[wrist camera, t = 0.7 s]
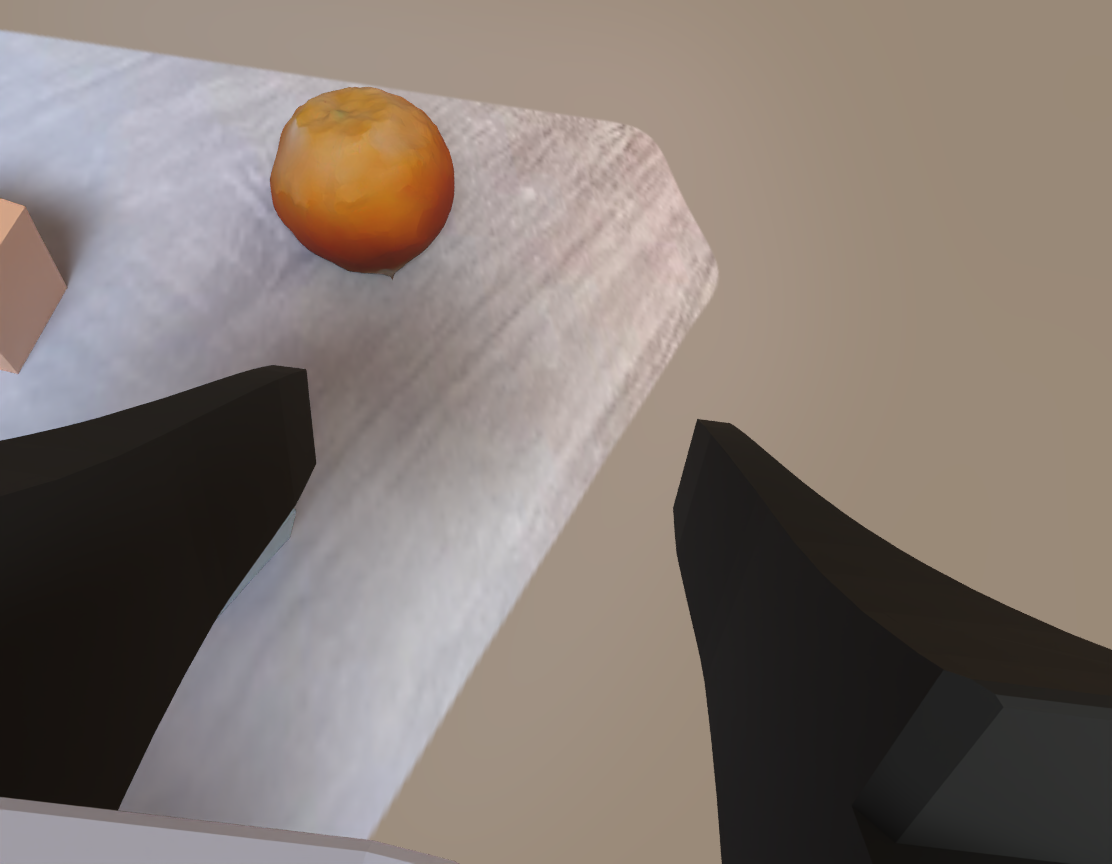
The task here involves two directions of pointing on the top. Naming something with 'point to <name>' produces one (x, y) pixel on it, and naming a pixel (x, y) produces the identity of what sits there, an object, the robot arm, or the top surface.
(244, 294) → the top surface
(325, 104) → the fruit
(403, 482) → the top surface
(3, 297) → the terracotta block
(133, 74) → the top surface
